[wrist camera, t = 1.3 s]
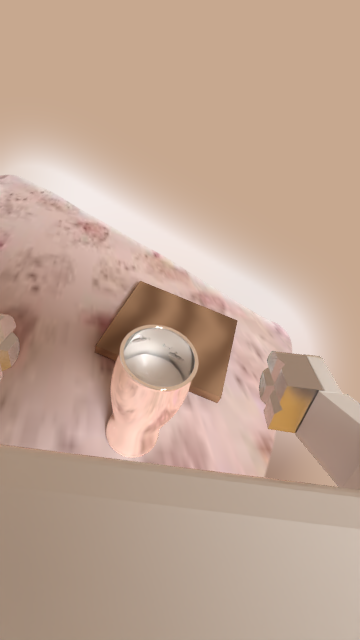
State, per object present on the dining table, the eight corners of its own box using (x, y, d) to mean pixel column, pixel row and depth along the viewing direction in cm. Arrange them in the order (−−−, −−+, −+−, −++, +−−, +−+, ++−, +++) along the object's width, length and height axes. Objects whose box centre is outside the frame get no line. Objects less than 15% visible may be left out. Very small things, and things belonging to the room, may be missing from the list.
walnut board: (94, 352, 40) (95, 345, 39) (138, 287, 52) (140, 280, 51) (217, 403, 40) (221, 397, 39) (234, 326, 51) (237, 320, 50)
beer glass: (116, 395, 37) (135, 312, 26) (168, 415, 37) (207, 339, 26) (90, 449, 32) (101, 372, 21) (151, 471, 32) (191, 406, 21)
